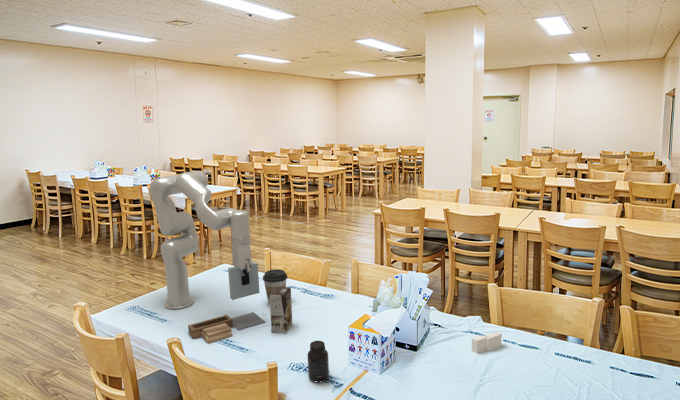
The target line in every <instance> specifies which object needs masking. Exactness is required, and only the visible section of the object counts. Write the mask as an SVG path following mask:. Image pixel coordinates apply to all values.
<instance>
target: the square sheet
mask: <svg viewBox="0 0 680 400" xmlns="http://www.w3.org/2000/svg"><path fill="white" fill-rule="evenodd" d="M245 268H246V267H245ZM250 269H251V272H250V273H249V280H250V284H247V285H242V278H241V276H242V270H240V269H238V268H237V267H236V266H230V267H228V268H227V270H228V283H229V284H228V285H229V298H230V299H231V300H232V301H235V300H237V299H242V298H245V297H248V296H253V295H257V294H260V279H259V264H258V263H257V262H256V261H253V262H252V267H251V268H250ZM244 271H246V270H244Z"/></svg>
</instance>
